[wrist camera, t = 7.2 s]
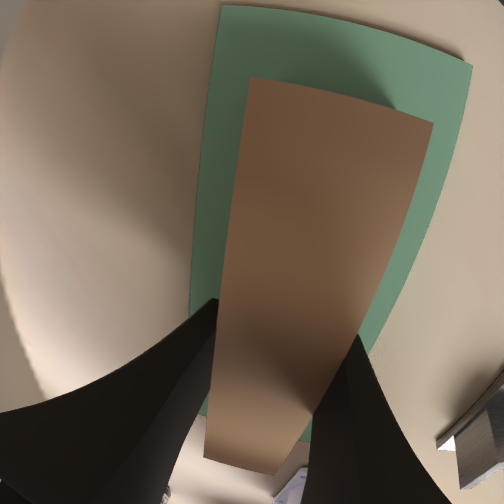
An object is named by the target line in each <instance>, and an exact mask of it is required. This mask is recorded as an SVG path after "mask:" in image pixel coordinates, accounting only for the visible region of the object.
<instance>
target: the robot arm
mask: <svg viewBox="0 0 504 504" xmlns="http://www.w3.org/2000/svg"><path fill="white" fill-rule="evenodd" d="M218 307H219V299H216V298H211V299H209V300H208V301H207V302H206V303H205V304H204V305H203V306H202V307H201V308H199V309H198V310H197V311H196V312H195V313H194V314H193V315H192V316H191V317H189V318H188V319H187V320H186V321H185V322H184V323H182V324H181V325H180V326H179V327H177V328H176V329H175V330H174V331H172V332H171V333H170V334H169V335H167V336H166V337H165V338H164V339H162V340H161V341H160V342H158V343H157V344H155V345H154V346H153V347H151V348H150V349H148V350H147V351H145V352H144V353H143V354H141V355H140V356H138V357H137V358H135V359H133V360H132V361H130V362H129V363H127V364H125V365H124V366H122V367H120V368H119V369H117V370H115V371H113V372H111V373H110V374H108V375H106V376H104V377H102V378H100V379H98V380H96V381H94V382H92V383H90V384H88V385H86V386H83V387H81V388H79V389H77V390H74V391H72V392H69V393H66V394H64V395H61V396H58V397H55V398H53V399H50V400H47V401H44V402H42V403H38V404H35V405H31V406H27V407H23V408H19V409H15V410H11V411H7V412H2V413H0V479H1V482H0V504H161V501H162V498H163V495H164V492H165V490H166V487H167V484H168V482H169V479H170V476H171V474H172V471H173V468H174V466H175V463H176V460H177V458H178V455H179V453H180V450H181V447H182V445H183V443H184V440H185V438H186V436H187V434H188V432H189V430H190V428H191V426H192V424H193V422H194V420H195V418H196V416H197V414H198V412H199V410H200V408H201V406H202V404H203V402H204V400H205V398H206V396H207V394H208V392H209V390H210V386H211V376H212V367H213V358H214V349H215V340H216V331H217V327H216V325H217V316H218ZM272 504H452V503H451V502H450V501H449V500H448V498H447V497H446V496H445V495H444V494H443V492H442V491H441V490H440V489H439V487H438V486H437V485H436V483H435V482H434V481H433V479H432V478H431V476H430V475H429V474H428V472H427V471H426V469H425V468H424V467H423V465H422V464H421V462H420V461H419V459H418V458H417V456H416V455H415V453H414V451H413V450H412V448H411V446H410V445H409V443H408V441H407V440H406V438H405V436H404V434H403V432H402V431H401V429H400V427H399V425H398V423H397V421H396V419H395V417H394V415H393V413H392V411H391V409H390V407H389V405H388V402H387V400H386V398H385V396H384V394H383V391H382V389H381V387H380V385H379V382H378V380H377V378H376V375H375V373H374V370H373V368H372V365H371V363H370V361H369V358H368V355H367V353H366V350H365V348H364V345H363V343H362V340H361V338H360V336H359V334H357V335H356V337H355V339H354V341H353V343H352V345H351V347H350V349H349V351H348V353H347V355H346V357H345V359H343V361H342V363H341V365H340V367H339V369H338V371H337V373H336V375H335V376H334V378H333V380H332V382H331V384H330V386H329V387H328V389H327V391H326V393H325V395H324V396H323V398H322V400H321V402H320V403H319V405H318V407H317V408H316V410H315V412H314V414H313V417H312V430H311V442H310V453H309V464H308V468H301V469H299V470H298V472H297V473H296V474H295V475H294V476H293V478H292V479H291V480H290V481H289V482H288V483H287V485H286V486H285V487H284V488H283V489H282V490H281V491H280V492H279V494H278V495H277V496H276V497H275V498H274V499H273V501H272Z"/></svg>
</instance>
